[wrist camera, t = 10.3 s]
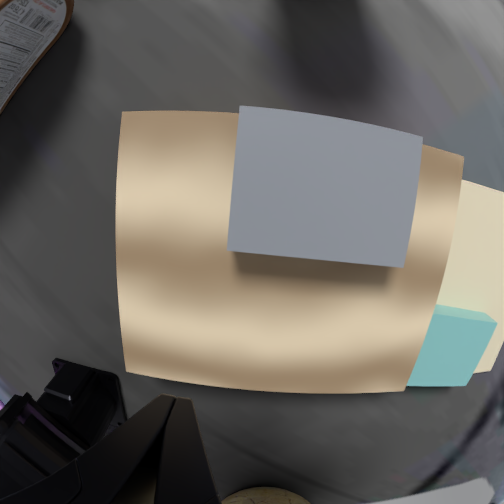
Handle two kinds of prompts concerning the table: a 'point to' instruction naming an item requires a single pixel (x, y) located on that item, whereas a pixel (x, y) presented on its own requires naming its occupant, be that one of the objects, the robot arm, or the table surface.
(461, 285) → the mat
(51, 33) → the tin
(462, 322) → the teal block
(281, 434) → the table surface
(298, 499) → the fossilized egg
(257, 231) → the gray rectangular block
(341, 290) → the wooden block
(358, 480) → the table surface
